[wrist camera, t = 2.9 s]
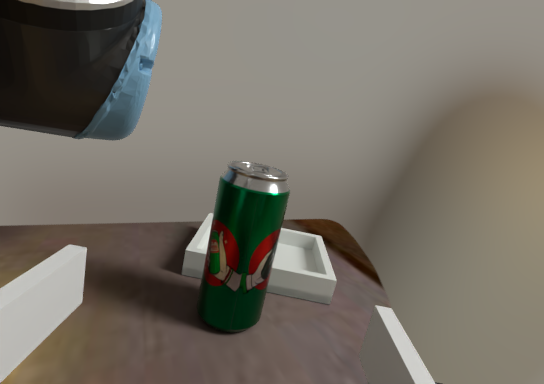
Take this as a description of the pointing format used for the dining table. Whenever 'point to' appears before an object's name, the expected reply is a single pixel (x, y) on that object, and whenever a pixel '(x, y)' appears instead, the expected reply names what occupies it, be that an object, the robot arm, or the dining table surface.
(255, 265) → the soda can
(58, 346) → the dining table surface
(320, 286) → the tray
